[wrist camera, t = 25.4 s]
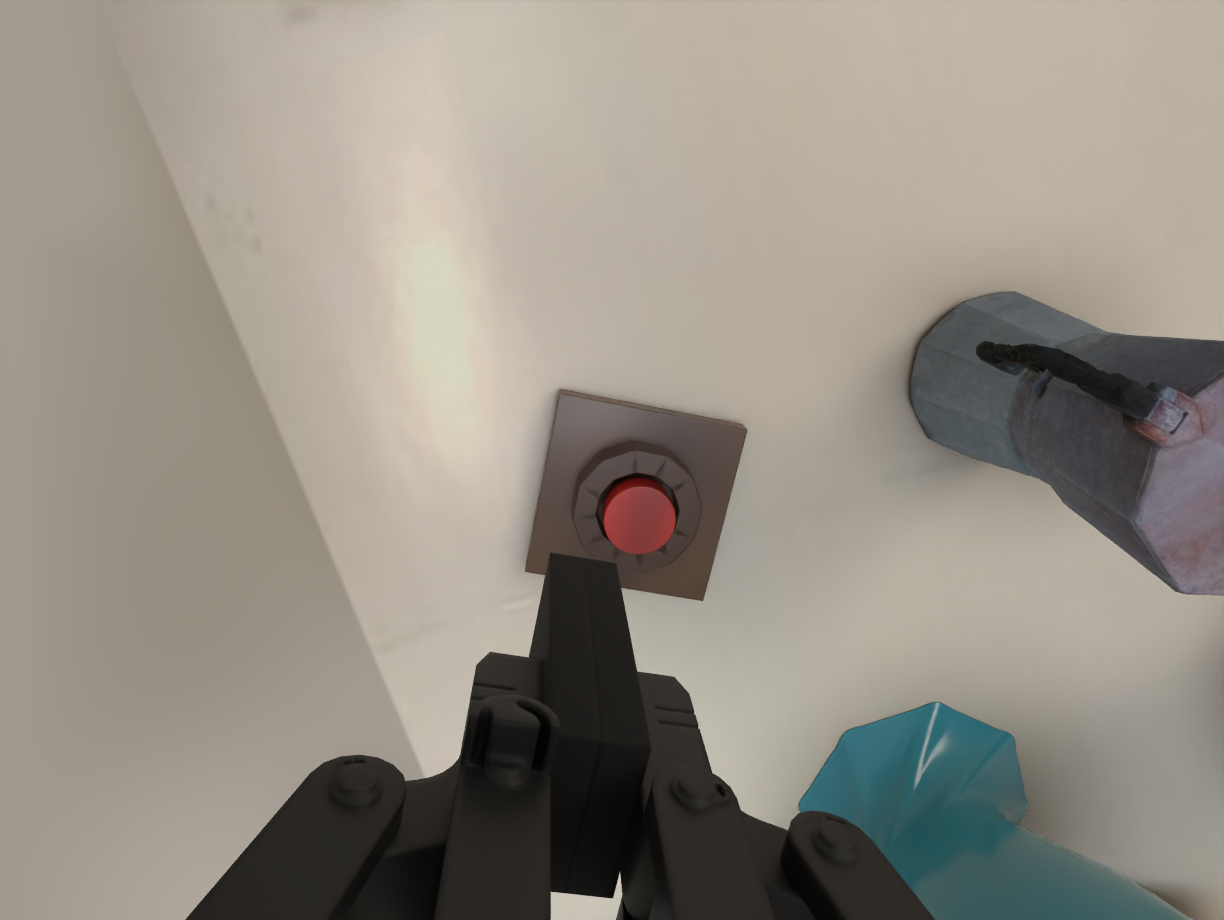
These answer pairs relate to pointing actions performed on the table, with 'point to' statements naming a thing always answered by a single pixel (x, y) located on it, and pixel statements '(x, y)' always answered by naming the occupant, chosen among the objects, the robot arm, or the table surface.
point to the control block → (635, 448)
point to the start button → (638, 516)
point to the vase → (965, 824)
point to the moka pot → (1089, 424)
